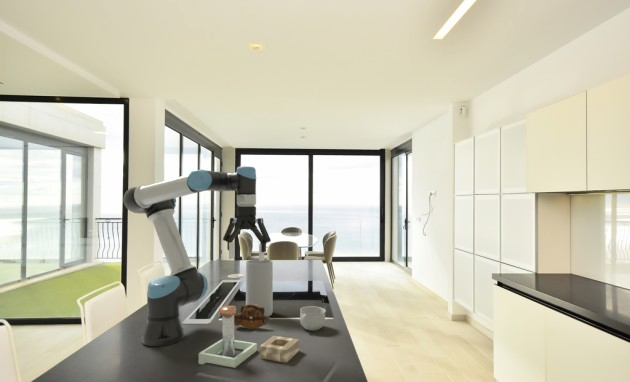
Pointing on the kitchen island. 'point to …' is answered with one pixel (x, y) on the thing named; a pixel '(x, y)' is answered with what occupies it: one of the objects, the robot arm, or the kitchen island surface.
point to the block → (279, 348)
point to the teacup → (312, 317)
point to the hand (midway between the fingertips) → (246, 259)
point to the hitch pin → (228, 330)
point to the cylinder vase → (260, 284)
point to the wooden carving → (250, 316)
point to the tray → (212, 356)
